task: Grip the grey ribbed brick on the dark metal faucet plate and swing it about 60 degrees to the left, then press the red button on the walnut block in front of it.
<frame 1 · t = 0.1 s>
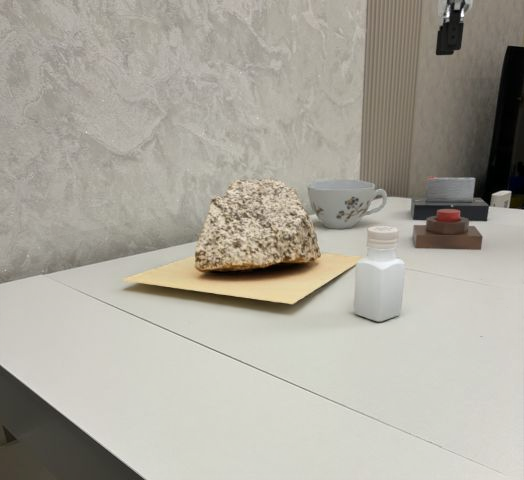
hand: (447, 52, 97), 29 cm above the table, tool pointing down, fingers open, 9 cm apart
faucet plate: (446, 216, 112), on the table
teacup: (345, 227, 105), on the table
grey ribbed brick: (449, 189, 110), point 5 cm above the table, hinge at 0.0°
salt shaker: (376, 317, 60), on the table
button: (448, 216, 89), point 4 cm above the table, slide at 0.1 cm
button block: (444, 243, 91), on the table
rock: (253, 274, 77), on the table
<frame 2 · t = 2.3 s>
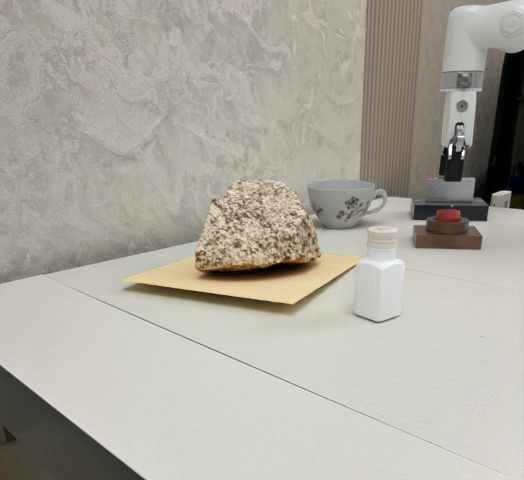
hand: (449, 178, 110), 7 cm above the table, tool pointing down, fingers open, 9 cm apart
nothing on the table moved.
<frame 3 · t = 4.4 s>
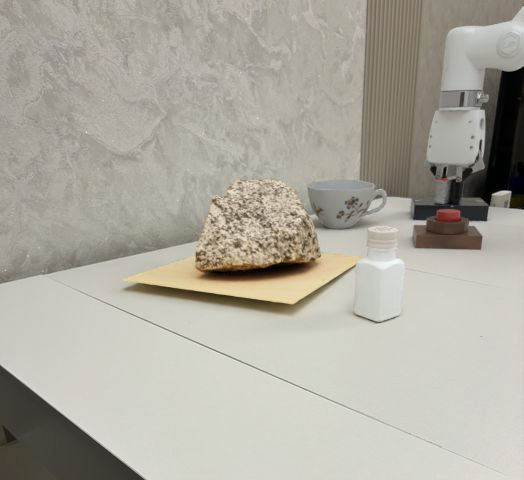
hand: (448, 200, 111), 3 cm above the table, tool pointing down, fingers closed on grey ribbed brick, 2 cm apart
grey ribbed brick: (449, 189, 110), point 5 cm above the table, hinge at 60.0°, touching gripper
everything else where it was.
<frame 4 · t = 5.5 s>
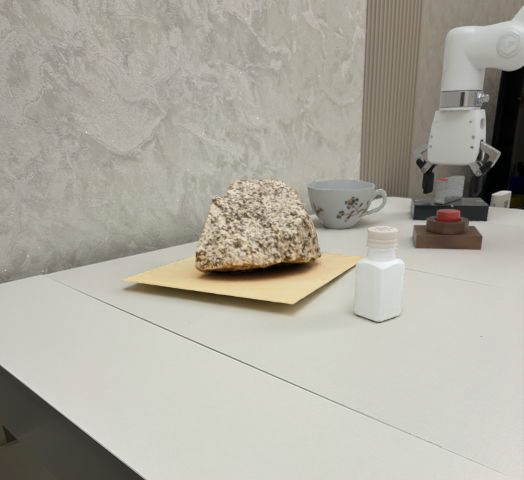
hand: (450, 194, 111), 4 cm above the table, tool pointing down, fingers open, 9 cm apart
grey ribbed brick: (449, 189, 110), point 5 cm above the table, hinge at 59.9°
everything else where it was.
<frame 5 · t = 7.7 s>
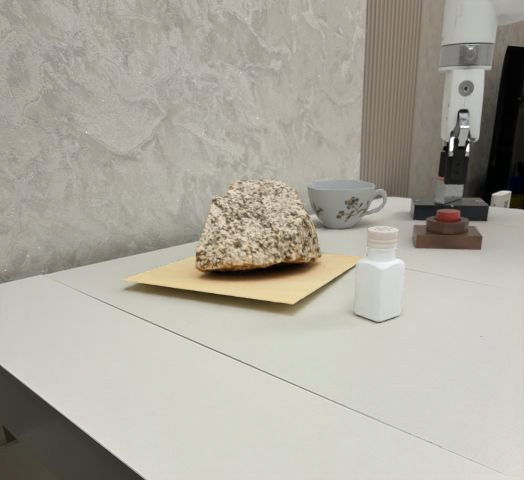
hand: (451, 180, 88), 10 cm above the table, tool pointing down, fingers open, 9 cm apart
nothing on the table moved.
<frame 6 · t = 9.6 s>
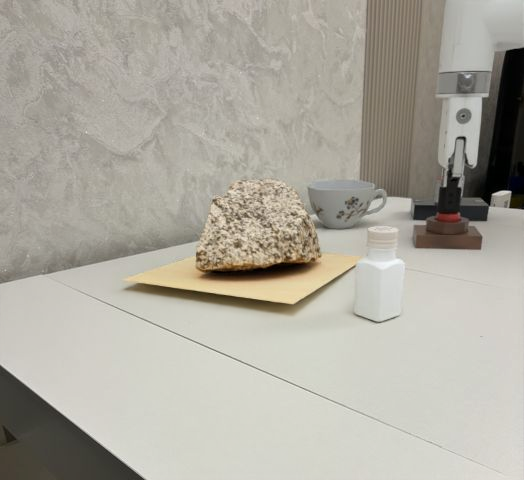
hand: (447, 212, 89), 5 cm above the table, tool pointing down, fingers closed
button: (447, 218, 89), point 4 cm above the table, slide at -0.2 cm, touching gripper
everything else where it was.
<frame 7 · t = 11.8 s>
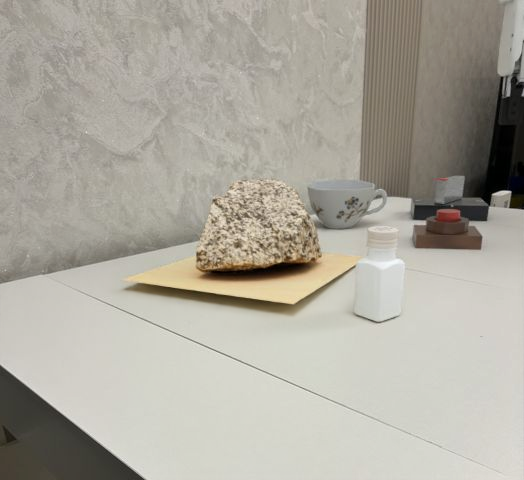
hand: (509, 124, 88), 18 cm above the table, tool pointing down, fingers closed
button: (448, 216, 89), point 4 cm above the table, slide at 0.1 cm
everything else where it was.
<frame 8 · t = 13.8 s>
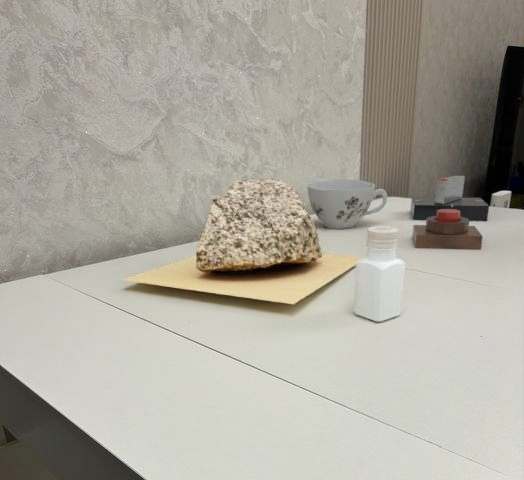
nothing on the table moved.
at the end: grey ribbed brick at +60° (first picture: +0°); button pushed in 1.1 cm at the most during the clip, back to where it started at the end; button slide at 0.1 cm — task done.
